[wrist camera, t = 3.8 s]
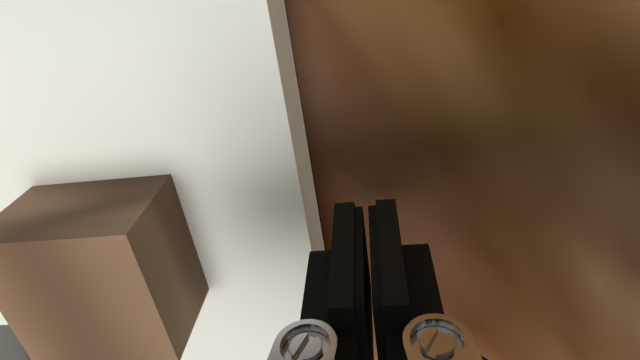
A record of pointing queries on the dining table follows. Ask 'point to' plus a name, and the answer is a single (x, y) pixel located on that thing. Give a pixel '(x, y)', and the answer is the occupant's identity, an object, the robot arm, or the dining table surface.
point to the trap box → (173, 140)
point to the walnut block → (100, 270)
